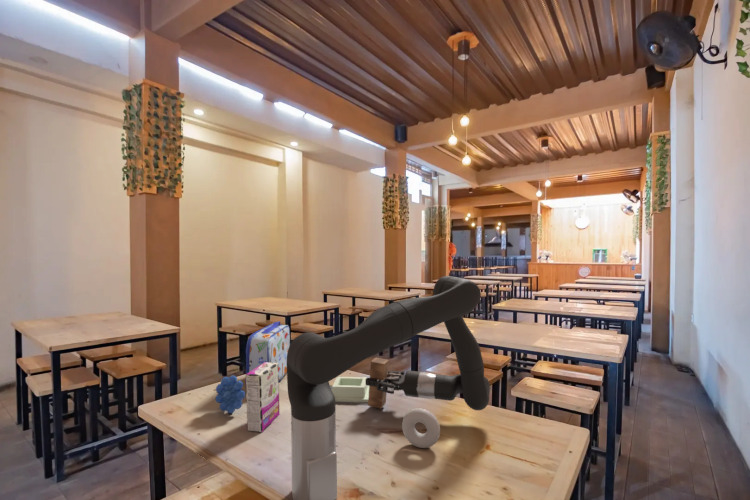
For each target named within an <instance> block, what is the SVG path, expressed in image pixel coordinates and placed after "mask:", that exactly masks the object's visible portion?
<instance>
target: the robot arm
mask: <svg viewBox="0 0 750 500" xmlns="http://www.w3.org/2000/svg"><path fill="white" fill-rule="evenodd" d="M481 294H482V293H481V290H480V287H479V286H478V284H477V283H475V282H474V281H472V280H470V279H467V278H463V277H459V276H458V277H456V276H451V275H450V276H449V275H445V276H442V277H440V278H438V279H437V280H436V282H435V284H434V286H433V295H429V296H422V297H411V298H405V299H401V300H398V301H397V300H395V301H394V302H392V303H389V304H386V305H384V306H381V307H379V308H378V309H376V310H374V311H372V313H370V314H369V315H368V316H367V317H366V318H365V319H364V320H363V321H362V322H361V323H360V324H359V325H357V326H356V327H354V328H353V329H351V330H349V331H345V332H342V333H341V334H337V335H334V336H330V337H324V336H322V335H320V334H318V333H315V332H304V333H301V334H299V335H297V336H296V337H295V338H294V339H293V340H292V341H291V342H290V346H289V349H288V353H287V374H286V381H287V382H286V383H287V385H286V386H287V395H288V400H289V403H290V404H289V405H290V415H291V416H290V421H291V429H290V430H291V432H290V433H291V434H290V436H291V438H290V439H291V496H292V500H337V499H338V470H337V469H338V463H337V462H338V460H337V458H338V456H337V455H338V454H337V439H336V436H337V434H336V431H337V429H336V426H337V425H336V417H337V416H336V409H337V408H336V404H335V397H334V394H333V392H332V390H331V388H330V385H331V384H330V381H332V380H334V379H336V378H337V377H340V376H341V375H342V374H344V373H345V372H347V371H348V370H350V369H352V368H354V367H355V366H356V365H358V364H360V363H361V362H364V360H366V359H369V358H370V357H373V356H375V355H378V354H380V353H381V352H384V351H385V350H388V349H390V348H392V347H394V346H396V345H399V344H402V343H403V342H406V341H407V340H410V339H411V338H413V337H415V336H417V335H418V334H420V333H423V332H425V331H427V330H429V329H433V328H434V327H435V326H437V325H440V324H442V323H444V326H445V328H446V330H447V333H448V335H449V338H450V339H451V340H450V341H451V343H452V346H453V350H454V353H455V357H456V363H457V366H458V369H459V374H454V375H447V374H446V375H445V374H438V373H433V372H427V371H415V370H407V371H406V372H405V371H403V370H402V371H396V370H395V371H394V370H392V371H391V370H388V375H387V376H388V377H385V378H384V379H375V378H370V377H368V378H366V385H368V386H377V390H379V391H383V392H386V393H387V394H390V395H393V394H395V391H403V392H404V395H405V397H409V398H410V397H411V398H418V399H427V400H433V399H434V400H441V401H453V400H455V398H456V397H457V396H458V395H459V394H460V395H461V394H462V397H463V400H464V402H465V404H466V405H467V406H468V407H469V409H472V410H474V411H482V410H484V409H486V408H487V407H488V405H489V403H490V394H491V393H490V389H491V387H490V386H491V384H490V381H489V380H488V378H487V377H485V365H484V360H483V356H482V351H481V347H480V345H479V343H478V341H477V338H476V337H475V336H474V335H473V333H472V331H471V330H470V328H469V327H468V325H467V323H466V321H465V320H464V317H463V316H465V315H467V314H469V313H472V311H474V310H475V309H476V308H477V306H478V305H479V303H480V301H481Z"/></svg>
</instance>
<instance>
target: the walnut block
mask: <svg viewBox="0 0 750 500" xmlns="http://www.w3.org/2000/svg"><path fill="white" fill-rule="evenodd" d="M389 363H390V359H386V358H380V357H375V358H373V359H372V360H370V372H369V378H375V379H384V378H385V377H388V376H387V375H388V371H389ZM387 394H388V393H386V392H383V391H379V390H377V386H369V398H368V405H367V406H369V407H373V408H377V409H381V410H382V409H383V408H384V406H385V405H386V403H387Z"/></svg>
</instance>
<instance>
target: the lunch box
mask: <svg viewBox="0 0 750 500" xmlns="http://www.w3.org/2000/svg"><path fill="white" fill-rule="evenodd" d="M290 331H291V330H290V326H289V325H288V324H281V321H275V322H273V323H271V324H268V325H267V326H264V327H262V328H261V329H258V330H256V331H255V332H253V333H251V334H250V336H249V337H248V339H247V342H246V345H245V346H246V348H245V356H246V357H245V362H246V363H245V366H246V367H245V368H246V369H245V375H246V374H247V373H249V372H250V371H252V370H254V369H255V368H257V367H258V366H260V365H261V364H263V363H264V362H273V363H278V378H279V382H281V381H282V379H283V378H284V377H285V376H287V353H288V349H289V346H290V344H291V332H290ZM244 379H245V381H244V382H245V385H246V377H245V378H244Z"/></svg>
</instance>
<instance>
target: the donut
mask: <svg viewBox="0 0 750 500" xmlns="http://www.w3.org/2000/svg"><path fill="white" fill-rule="evenodd" d="M417 423H421V424H423V425H424V426H425V427H426V432H425V433H422V432H419V431H418V430H417V429H416V424H417ZM401 429H402V433H403V435H404V437H405V439H406V440H407V441H408V442H409V443H410V444H411V445H412V446H414V447H417V448H419V449H427V448H431V447H433V446H434V445H435V444H436V443H437V442H438V441H439V438H440V435H441V427H440V424H439V421H438V419H437V417H436V416H435V415H434V413H432V412H431V411H429V410H428V409H424V408H421V407H419V408H417V407H415V408H413V409H410V410H409V411H408V412H406V413H405V415H404V416H403V419H402V423H401Z"/></svg>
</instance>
